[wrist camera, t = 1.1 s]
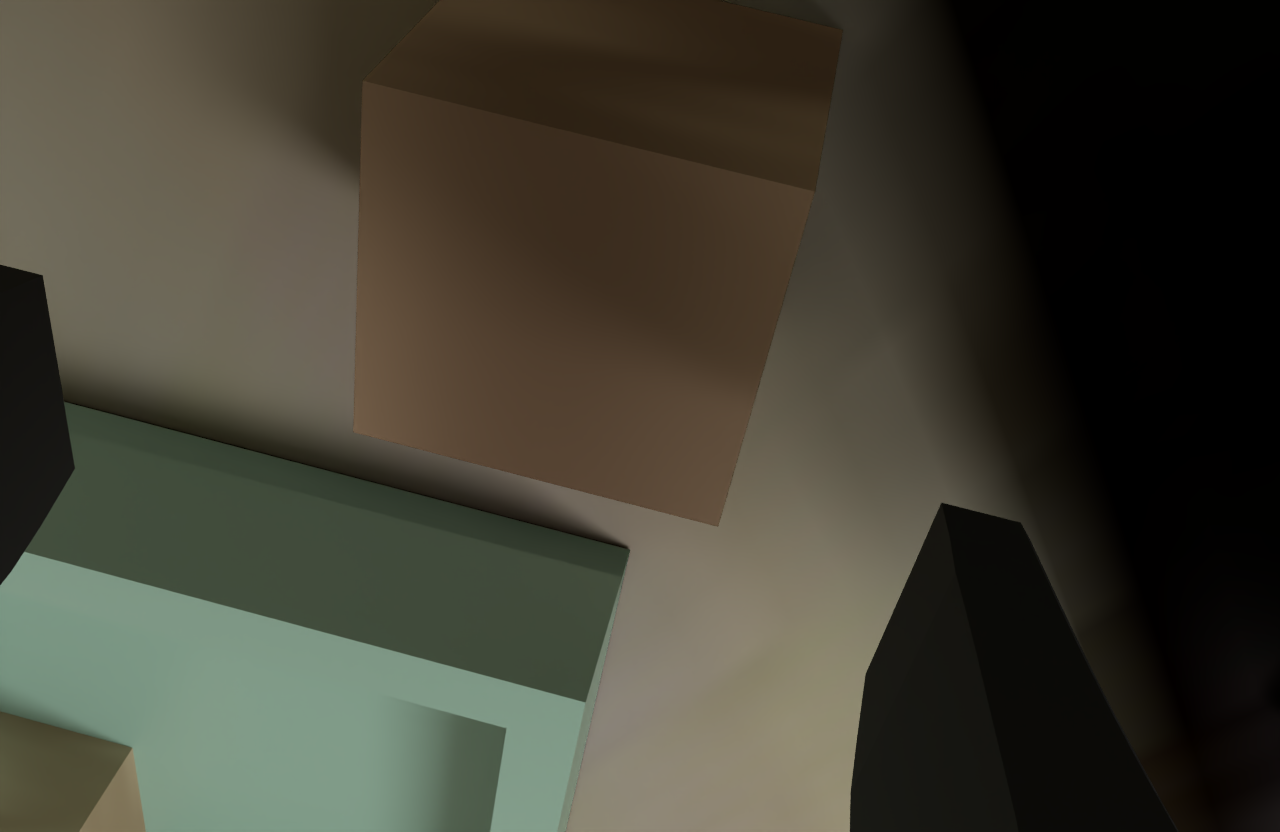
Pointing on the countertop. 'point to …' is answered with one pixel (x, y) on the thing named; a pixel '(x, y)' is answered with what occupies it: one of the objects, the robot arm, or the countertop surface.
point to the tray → (305, 641)
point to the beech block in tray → (65, 781)
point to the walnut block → (584, 236)
